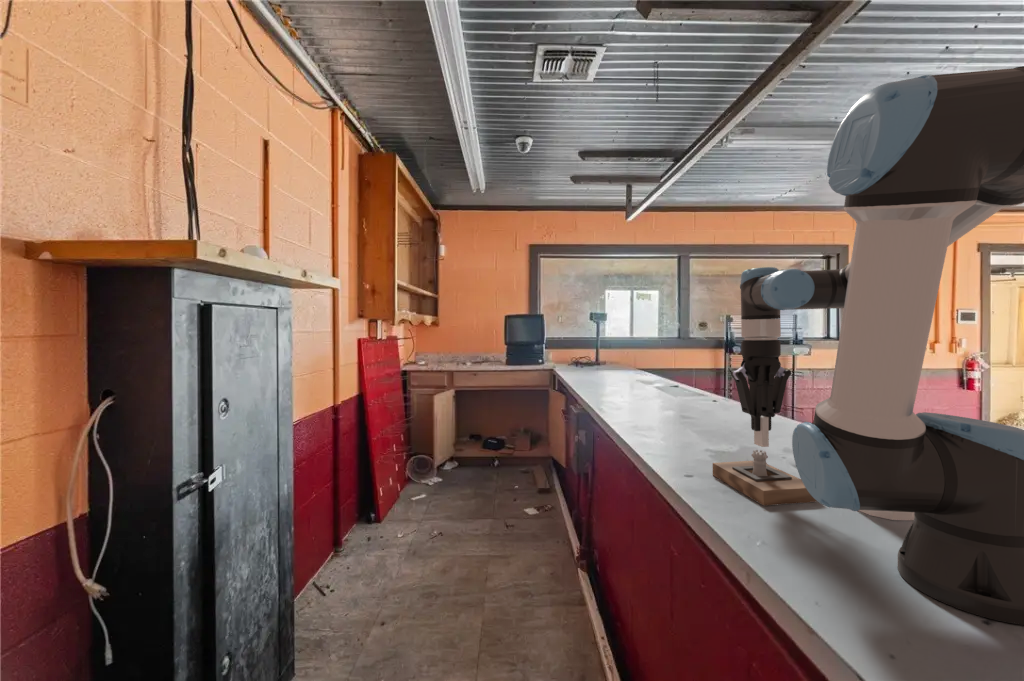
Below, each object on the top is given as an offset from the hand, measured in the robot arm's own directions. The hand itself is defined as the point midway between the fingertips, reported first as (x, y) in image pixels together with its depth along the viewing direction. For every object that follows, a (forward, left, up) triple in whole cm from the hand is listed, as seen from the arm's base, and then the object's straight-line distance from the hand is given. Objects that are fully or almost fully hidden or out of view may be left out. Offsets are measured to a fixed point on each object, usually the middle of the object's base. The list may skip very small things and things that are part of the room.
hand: (761, 445), depth 95 cm
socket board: (0, 0, -10) cm, 10 cm away
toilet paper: (-14, -15, -10) cm, 23 cm away
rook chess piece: (+1, 0, -10) cm, 10 cm away
